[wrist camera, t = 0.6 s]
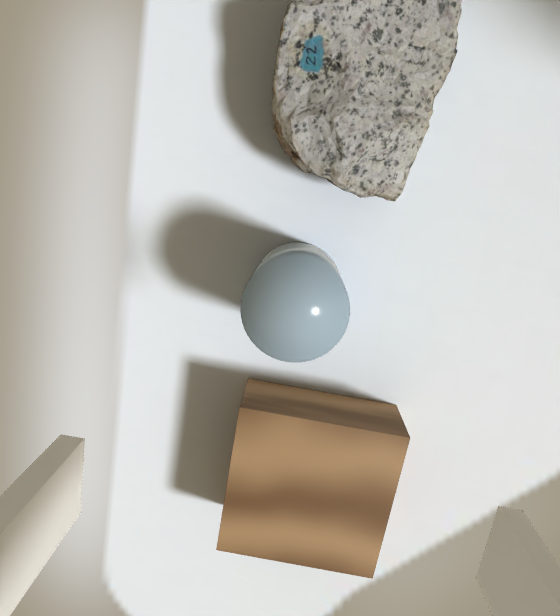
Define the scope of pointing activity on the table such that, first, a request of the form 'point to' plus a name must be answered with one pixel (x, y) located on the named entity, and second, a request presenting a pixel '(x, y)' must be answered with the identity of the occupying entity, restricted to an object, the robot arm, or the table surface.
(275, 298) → the grey rounded cylinder
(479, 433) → the table surface
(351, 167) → the rock
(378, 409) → the walnut block
